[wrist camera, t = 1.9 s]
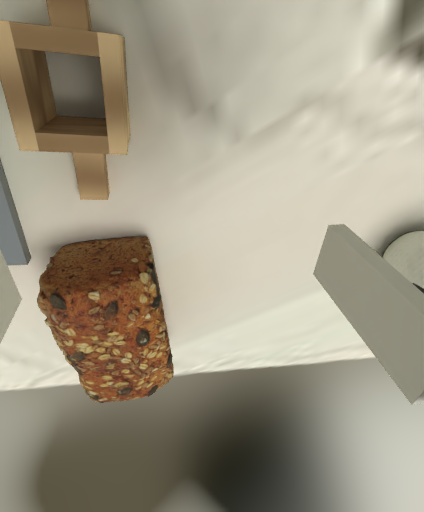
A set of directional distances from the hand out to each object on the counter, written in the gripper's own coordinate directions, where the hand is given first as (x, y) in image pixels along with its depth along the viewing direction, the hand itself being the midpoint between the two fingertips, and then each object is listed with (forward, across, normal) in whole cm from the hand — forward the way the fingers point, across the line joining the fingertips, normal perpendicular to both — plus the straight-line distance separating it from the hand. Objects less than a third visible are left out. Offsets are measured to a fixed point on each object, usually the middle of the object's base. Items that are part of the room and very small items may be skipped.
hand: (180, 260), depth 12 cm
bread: (+19, -6, -19) cm, 27 cm away
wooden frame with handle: (+18, -6, +4) cm, 20 cm away
